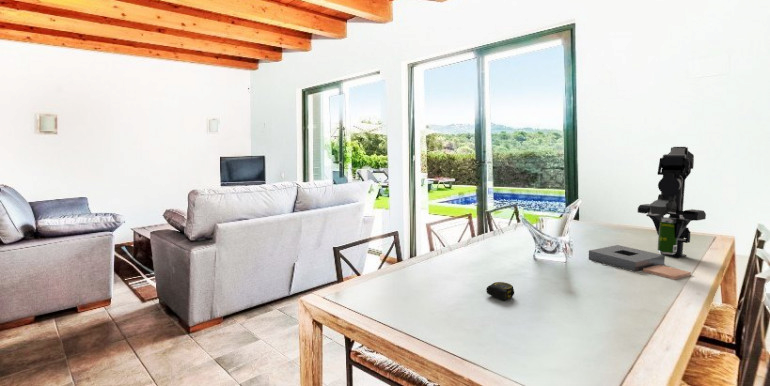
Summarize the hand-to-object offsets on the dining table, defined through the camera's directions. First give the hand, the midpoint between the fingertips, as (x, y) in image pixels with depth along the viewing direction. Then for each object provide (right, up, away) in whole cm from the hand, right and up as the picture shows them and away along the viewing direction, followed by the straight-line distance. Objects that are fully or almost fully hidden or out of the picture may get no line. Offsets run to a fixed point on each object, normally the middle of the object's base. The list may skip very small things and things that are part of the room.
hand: (668, 236), depth 135 cm
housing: (-6, -11, +15) cm, 20 cm away
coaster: (0, -13, +1) cm, 13 cm away
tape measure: (-63, -16, -19) cm, 68 cm away
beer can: (0, -6, +1) cm, 6 cm away
